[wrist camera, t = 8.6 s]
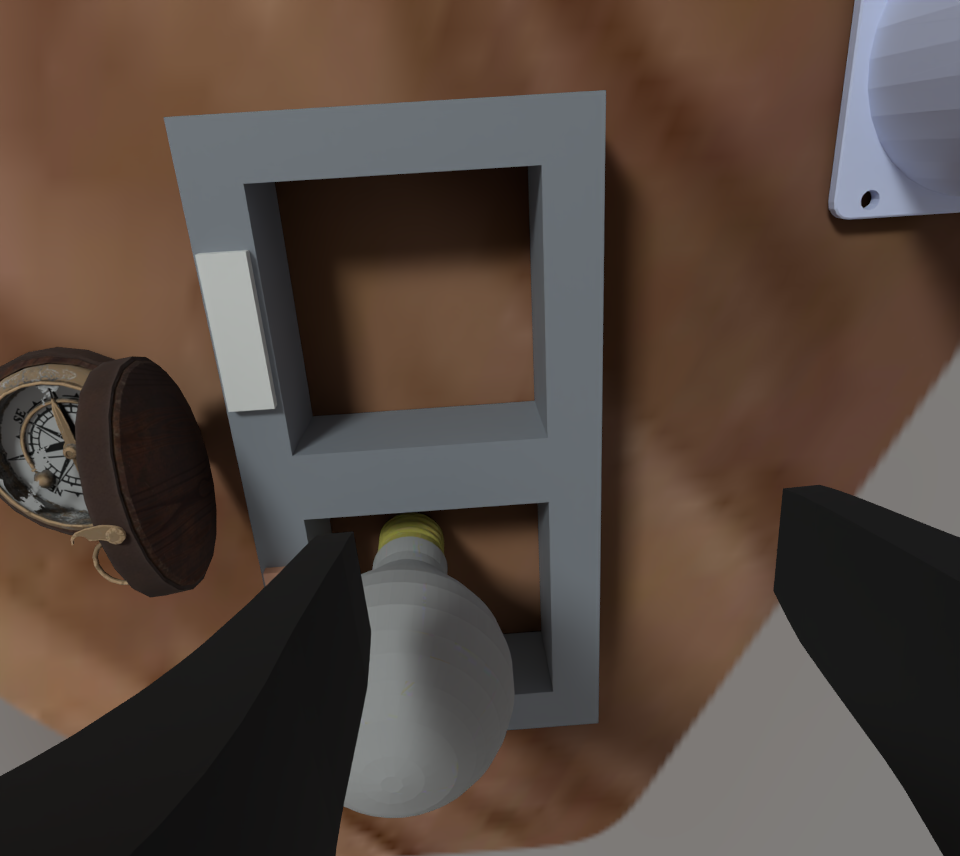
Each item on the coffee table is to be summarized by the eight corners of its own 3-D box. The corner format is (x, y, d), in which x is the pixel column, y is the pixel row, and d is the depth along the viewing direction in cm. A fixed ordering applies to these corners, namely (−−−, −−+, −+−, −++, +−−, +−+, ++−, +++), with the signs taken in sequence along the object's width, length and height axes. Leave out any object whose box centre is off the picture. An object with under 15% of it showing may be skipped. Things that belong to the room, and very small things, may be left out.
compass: (-55, 365, 20) (-307, 471, 13) (203, 319, 20) (79, 402, 13) (54, 584, 23) (-107, 761, 16) (278, 545, 23) (209, 708, 16)
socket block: (581, 100, 18) (608, 89, 15) (581, 660, 25) (600, 730, 22) (207, 122, 18) (158, 116, 15) (315, 681, 25) (296, 754, 22)
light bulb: (502, 584, 24) (538, 857, 15) (350, 605, 24) (290, 891, 15) (482, 445, 22) (510, 660, 13) (316, 468, 22) (220, 700, 13)
